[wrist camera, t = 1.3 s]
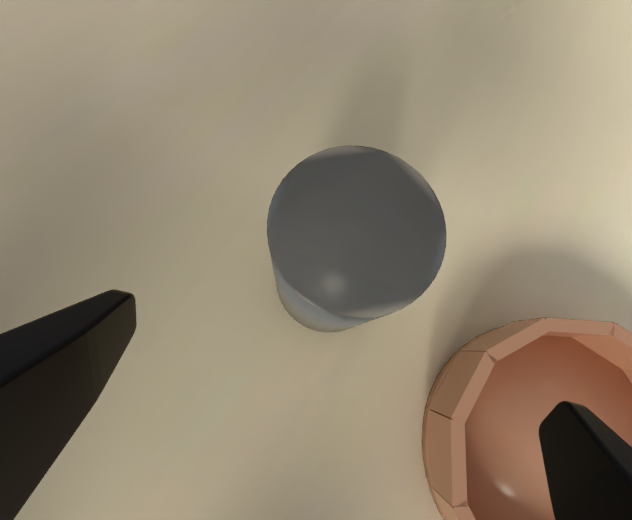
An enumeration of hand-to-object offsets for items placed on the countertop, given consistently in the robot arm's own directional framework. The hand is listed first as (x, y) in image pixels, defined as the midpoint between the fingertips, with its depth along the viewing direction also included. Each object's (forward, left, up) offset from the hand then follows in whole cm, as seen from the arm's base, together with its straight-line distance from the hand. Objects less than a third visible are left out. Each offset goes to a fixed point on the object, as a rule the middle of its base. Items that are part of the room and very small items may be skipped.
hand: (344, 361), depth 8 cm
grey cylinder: (+3, -2, -12) cm, 12 cm away
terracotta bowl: (-9, -8, -12) cm, 17 cm away
